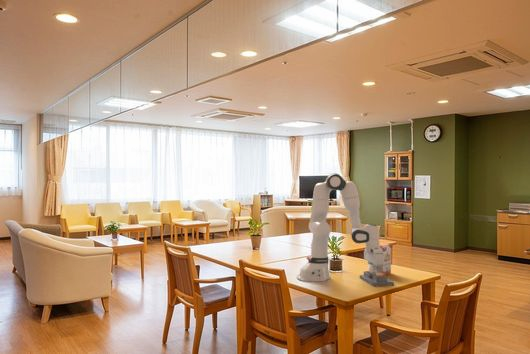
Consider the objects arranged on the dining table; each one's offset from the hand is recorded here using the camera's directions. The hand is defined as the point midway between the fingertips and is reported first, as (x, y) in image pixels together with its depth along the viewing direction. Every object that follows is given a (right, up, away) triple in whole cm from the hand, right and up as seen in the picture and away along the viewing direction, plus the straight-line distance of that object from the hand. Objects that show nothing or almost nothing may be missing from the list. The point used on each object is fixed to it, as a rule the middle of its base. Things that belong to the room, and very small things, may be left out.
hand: (372, 269), depth 257 cm
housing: (+1, -7, -5) cm, 8 cm away
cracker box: (+11, -7, +13) cm, 18 cm away
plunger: (+2, -4, -10) cm, 11 cm away
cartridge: (0, -5, 0) cm, 5 cm away
